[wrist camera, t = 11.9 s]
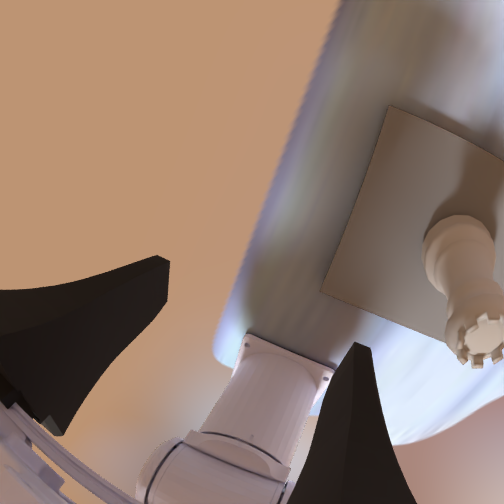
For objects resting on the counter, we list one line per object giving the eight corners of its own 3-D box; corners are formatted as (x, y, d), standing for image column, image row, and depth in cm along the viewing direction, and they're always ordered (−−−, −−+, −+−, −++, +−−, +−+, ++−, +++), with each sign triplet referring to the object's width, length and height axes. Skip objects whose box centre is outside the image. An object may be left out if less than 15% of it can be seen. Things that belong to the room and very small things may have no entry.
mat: (478, 347, 18) (480, 356, 18) (322, 283, 21) (319, 291, 20) (566, 204, 12) (573, 210, 11) (388, 105, 15) (389, 105, 14)
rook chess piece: (471, 196, 14) (522, 270, 8) (500, 260, 15) (543, 354, 8) (406, 237, 17) (412, 330, 10) (440, 294, 17) (452, 397, 11)
